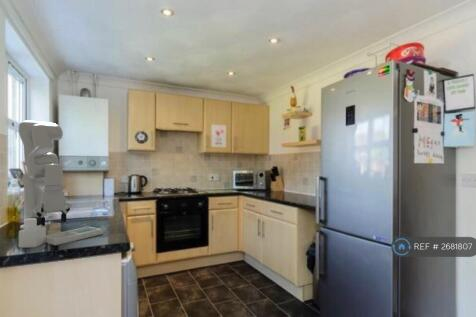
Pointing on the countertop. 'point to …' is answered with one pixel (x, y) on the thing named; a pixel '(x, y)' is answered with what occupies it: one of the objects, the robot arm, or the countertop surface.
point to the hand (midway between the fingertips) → (53, 223)
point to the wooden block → (53, 228)
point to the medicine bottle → (32, 233)
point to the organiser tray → (72, 235)
